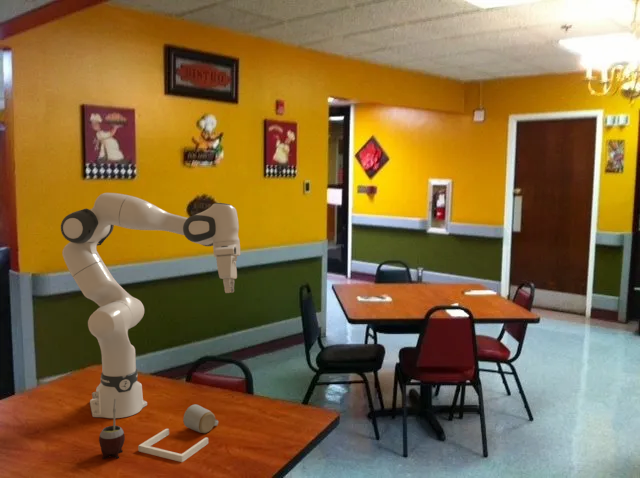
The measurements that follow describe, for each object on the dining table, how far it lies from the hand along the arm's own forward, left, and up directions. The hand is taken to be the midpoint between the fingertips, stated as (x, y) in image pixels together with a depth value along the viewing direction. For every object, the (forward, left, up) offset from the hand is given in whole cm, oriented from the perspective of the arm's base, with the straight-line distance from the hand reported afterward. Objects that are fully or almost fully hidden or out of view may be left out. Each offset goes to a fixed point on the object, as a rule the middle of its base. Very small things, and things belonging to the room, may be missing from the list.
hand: (229, 292), depth 192 cm
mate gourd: (+2, -40, -44) cm, 60 cm away
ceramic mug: (+1, -11, -44) cm, 45 cm away
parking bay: (+8, -23, -44) cm, 50 cm away
